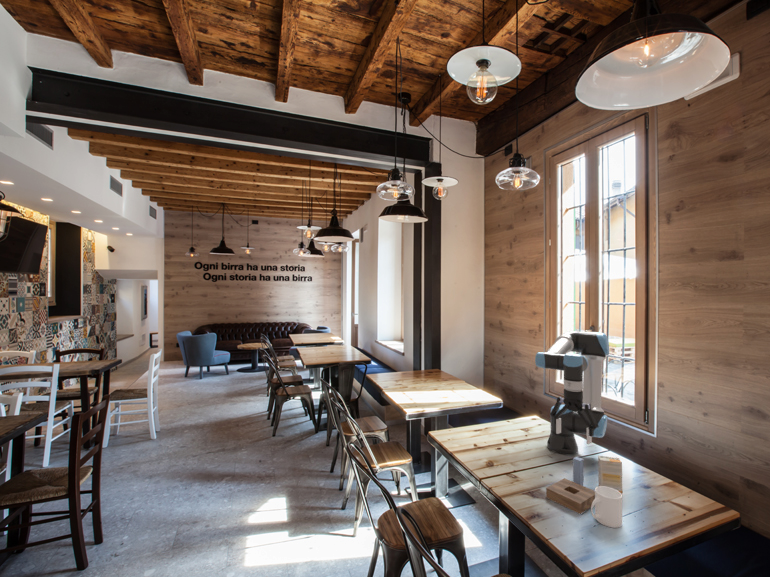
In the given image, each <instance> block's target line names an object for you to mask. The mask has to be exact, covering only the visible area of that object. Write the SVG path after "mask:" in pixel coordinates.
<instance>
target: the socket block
mask: <svg viewBox="0 0 770 577" xmlns="http://www.w3.org/2000/svg"><path fill="white" fill-rule="evenodd" d="M545 496H546V497H545V499H546V498H547V499H549V501H552V502H554V503H557V504H558V505H561V506H563V507H565V508H566V509H569V510H570V511H573V512H575V513H576V514H577V513H578V514H579V515H582V514H583V513H585V512H586V511H588V510H589V509H591V505H592V502H593V500H594V499H595V490H593V489H591V488H588V487H586V486H582V485H579V484H577V483H575V482H573V480H570V479H567V478H565V477H564V478H562V479H560V480H557V481H556V482H554V483H552V484H551V485H549V486H547V487H546V488H545Z"/></svg>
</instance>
